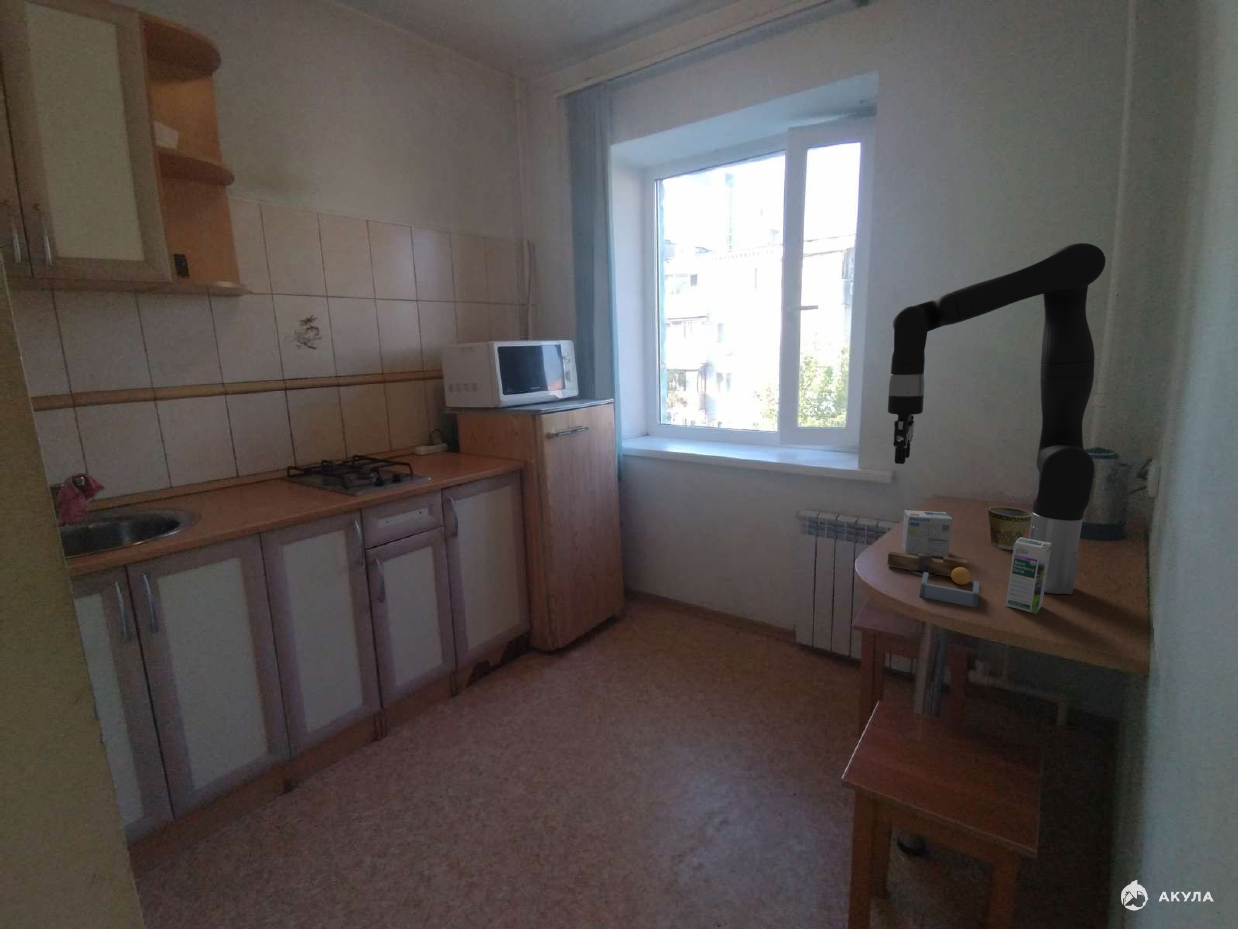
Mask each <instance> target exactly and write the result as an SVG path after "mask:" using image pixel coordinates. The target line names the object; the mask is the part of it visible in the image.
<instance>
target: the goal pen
mask: <svg viewBox="0 0 1238 929" xmlns="http://www.w3.org/2000/svg"><path fill="white" fill-rule="evenodd" d="M928 574H929V573H927V572H924V573H923V576H921V580H920V586H919V587H920V589H919V597H921V598H925V599H926V598H927V599H929V600H936V601H940V602H944V603H952V604H955V605H961V606H967V607H972V608H976V609H977V608H978V604H979V596H980V581H977V580H973V584H972V591H970V590H965V589H958V588H955V587H954V588H953V587H949V586H943V585H936V584H932V583H928V581H929V577H928Z"/></svg>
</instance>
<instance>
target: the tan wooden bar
mask: <svg viewBox="0 0 1238 929" xmlns="http://www.w3.org/2000/svg"><path fill="white" fill-rule="evenodd" d="M942 558H943V559H938V558H933V556H931V555H929V554H926V553H919V554H918V555H914V554H905V553H901V552H895V551H892V550H891V551H889V552H888V555H887V564H886V565H887V566H890V567H897V568H901V569H902V568H903V569H908V570H910V569H913V570H918V571H921V572H930V573H936V574H937V575H943V576H948V577H951V573H952V571H953V570H954V569H955V568H958V567H963V568H965V569H967V568H968V559H965V558H964V559H962V558H958V557H950V556H948V557H945V556H944V557H942ZM967 570H968V569H967Z"/></svg>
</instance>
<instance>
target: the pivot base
mask: <svg viewBox="0 0 1238 929" xmlns="http://www.w3.org/2000/svg"><path fill="white" fill-rule="evenodd" d="M909 572H910V573H911V574H913V575H915V576H918V575H919V576H920V577H923V573H924V572H921V571H918V570H913V569H909ZM927 573H929V574H928V578H934V577H936V576H937V575H938V574H936V573H930V572H927Z"/></svg>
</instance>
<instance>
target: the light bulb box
mask: <svg viewBox="0 0 1238 929" xmlns="http://www.w3.org/2000/svg"><path fill="white" fill-rule="evenodd" d="M952 523H953V518H952V516H950V515H949V514H948V513H947V512H945V511H925V510H909V509H904V513H903V525H902V535H901V548H902V550H903V552H904V554H909V555H915V556H918V554H919V553H926V554H929V555H931V556H932V557H939V558H940V557H941V558H944V556H945V557H949V555H950V543H951V535H952V527H953V526H952Z"/></svg>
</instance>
